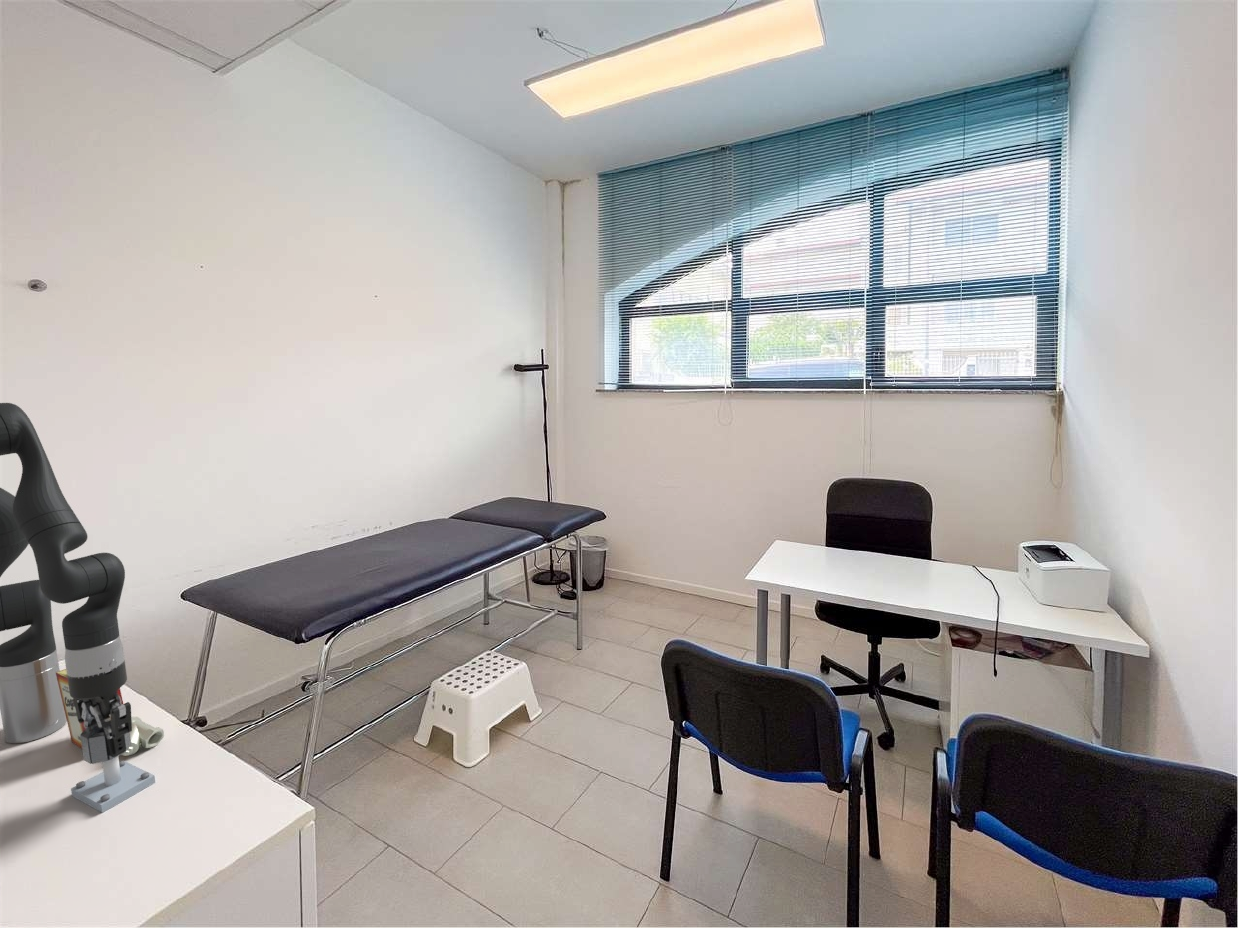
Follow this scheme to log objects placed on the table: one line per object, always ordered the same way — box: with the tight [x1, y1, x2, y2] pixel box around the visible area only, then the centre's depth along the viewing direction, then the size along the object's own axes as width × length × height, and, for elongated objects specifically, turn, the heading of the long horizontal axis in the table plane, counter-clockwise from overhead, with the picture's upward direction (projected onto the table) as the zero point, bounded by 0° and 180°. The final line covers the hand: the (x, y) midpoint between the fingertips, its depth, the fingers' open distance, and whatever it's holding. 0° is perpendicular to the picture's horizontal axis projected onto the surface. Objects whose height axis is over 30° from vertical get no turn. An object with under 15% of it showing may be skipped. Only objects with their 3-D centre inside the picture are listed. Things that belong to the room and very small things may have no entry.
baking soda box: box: [56, 668, 124, 749], centre depth 113 cm, size 10×6×16 cm
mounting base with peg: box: [70, 756, 156, 814], centre depth 100 cm, size 10×8×8 cm
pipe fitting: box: [120, 716, 165, 757], centre depth 111 cm, size 8×4×7 cm
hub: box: [80, 718, 131, 765], centre depth 99 cm, size 6×6×5 cm
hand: (107, 748), depth 100 cm, fingers closed on hub, 6 cm apart
